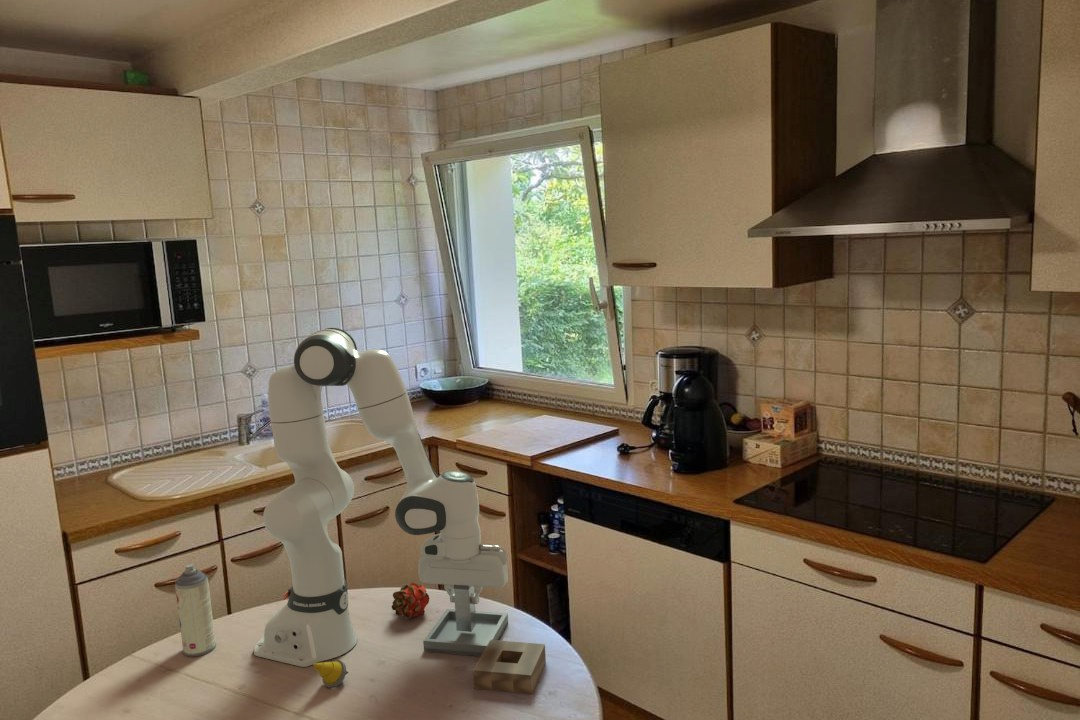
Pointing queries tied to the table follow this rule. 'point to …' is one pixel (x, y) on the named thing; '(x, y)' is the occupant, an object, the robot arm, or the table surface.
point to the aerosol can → (195, 612)
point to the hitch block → (509, 666)
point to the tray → (465, 634)
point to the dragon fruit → (410, 600)
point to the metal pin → (464, 608)
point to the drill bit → (331, 672)
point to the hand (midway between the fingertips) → (464, 602)
